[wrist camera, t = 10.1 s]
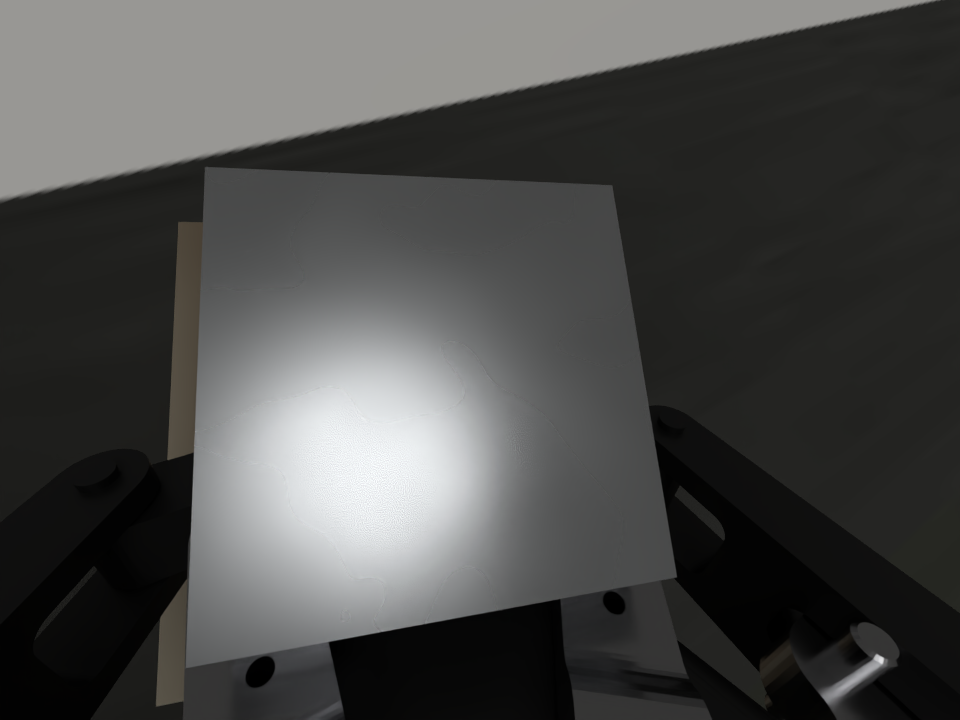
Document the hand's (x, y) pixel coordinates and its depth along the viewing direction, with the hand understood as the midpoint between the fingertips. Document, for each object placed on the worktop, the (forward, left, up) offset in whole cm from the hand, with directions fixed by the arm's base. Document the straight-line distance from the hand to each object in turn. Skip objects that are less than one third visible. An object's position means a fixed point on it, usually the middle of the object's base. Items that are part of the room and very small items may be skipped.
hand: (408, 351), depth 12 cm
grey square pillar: (0, -2, -6) cm, 7 cm away
